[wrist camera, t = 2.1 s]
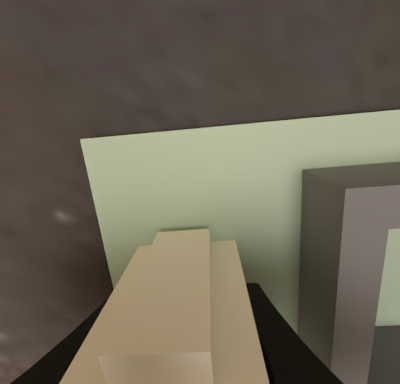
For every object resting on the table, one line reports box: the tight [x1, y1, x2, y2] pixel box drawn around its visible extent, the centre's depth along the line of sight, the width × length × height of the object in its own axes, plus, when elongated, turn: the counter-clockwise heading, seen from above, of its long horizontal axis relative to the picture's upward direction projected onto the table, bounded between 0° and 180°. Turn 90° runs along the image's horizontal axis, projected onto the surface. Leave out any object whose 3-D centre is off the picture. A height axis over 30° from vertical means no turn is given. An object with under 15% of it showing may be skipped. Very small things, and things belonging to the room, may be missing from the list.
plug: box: [59, 229, 269, 384], centre depth 7 cm, size 5×4×6 cm
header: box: [80, 110, 400, 384], centre depth 9 cm, size 13×17×4 cm
